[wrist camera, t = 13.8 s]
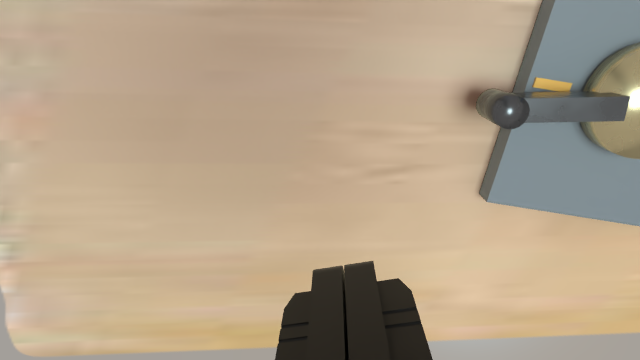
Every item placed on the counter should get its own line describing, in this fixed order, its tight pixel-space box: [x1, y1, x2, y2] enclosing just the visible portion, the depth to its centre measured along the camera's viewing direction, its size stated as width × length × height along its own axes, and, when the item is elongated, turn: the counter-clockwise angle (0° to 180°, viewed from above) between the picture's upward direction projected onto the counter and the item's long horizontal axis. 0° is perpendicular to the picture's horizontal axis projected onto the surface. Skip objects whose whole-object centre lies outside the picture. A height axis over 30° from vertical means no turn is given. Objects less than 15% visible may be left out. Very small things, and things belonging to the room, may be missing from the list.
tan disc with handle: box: [476, 43, 640, 159], centre depth 30 cm, size 18×9×5 cm, turn 91°
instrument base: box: [479, 0, 640, 226], centre depth 32 cm, size 22×18×4 cm
